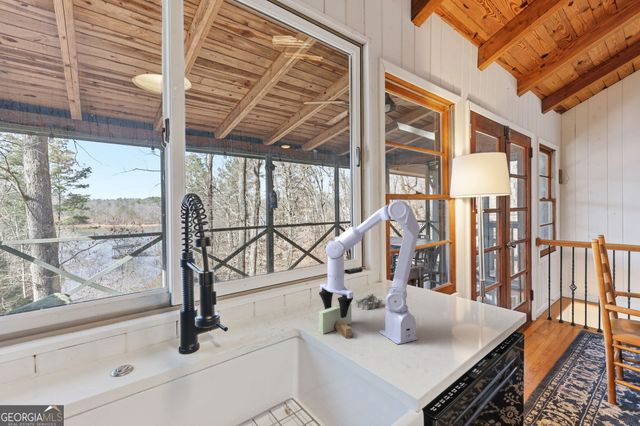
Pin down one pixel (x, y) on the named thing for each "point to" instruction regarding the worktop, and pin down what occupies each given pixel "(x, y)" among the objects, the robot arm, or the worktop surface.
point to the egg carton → (368, 302)
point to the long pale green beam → (332, 318)
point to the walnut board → (343, 329)
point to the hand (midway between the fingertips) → (335, 314)
